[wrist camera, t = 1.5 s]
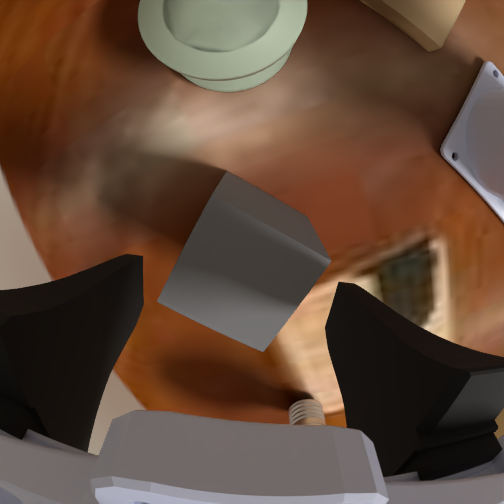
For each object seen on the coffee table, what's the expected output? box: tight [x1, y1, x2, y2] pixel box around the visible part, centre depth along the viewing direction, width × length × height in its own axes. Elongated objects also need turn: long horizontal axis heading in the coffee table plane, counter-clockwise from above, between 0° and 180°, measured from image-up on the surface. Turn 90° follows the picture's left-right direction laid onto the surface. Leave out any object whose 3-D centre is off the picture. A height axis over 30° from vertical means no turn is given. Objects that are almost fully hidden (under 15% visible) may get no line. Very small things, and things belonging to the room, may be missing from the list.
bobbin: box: [138, 0, 307, 92], centre depth 11 cm, size 6×6×5 cm
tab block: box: [157, 171, 331, 352], centre depth 15 cm, size 5×5×6 cm
